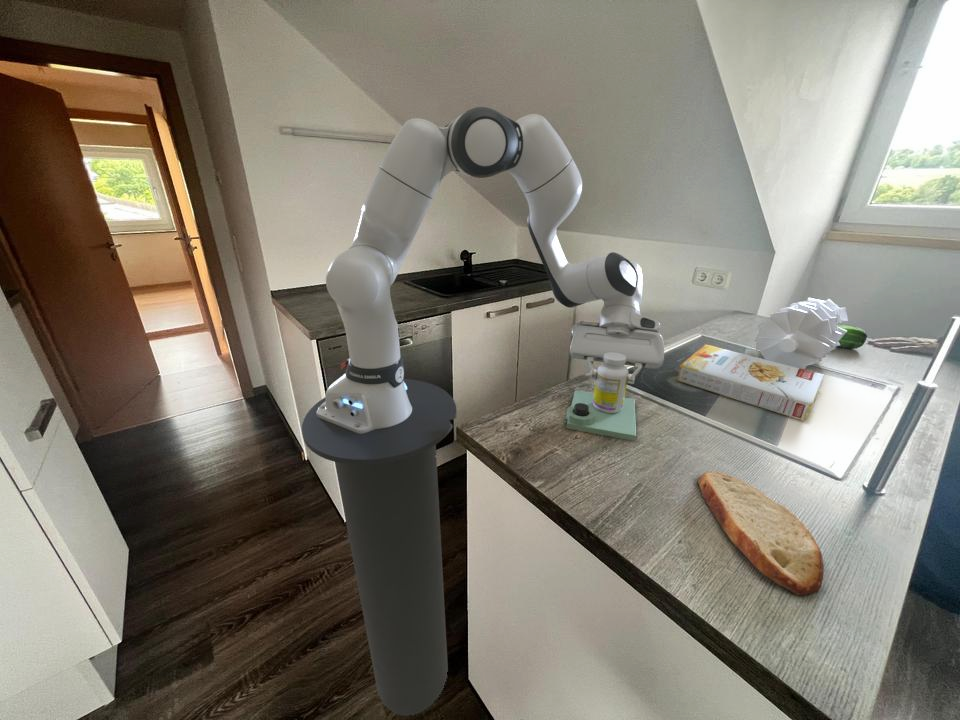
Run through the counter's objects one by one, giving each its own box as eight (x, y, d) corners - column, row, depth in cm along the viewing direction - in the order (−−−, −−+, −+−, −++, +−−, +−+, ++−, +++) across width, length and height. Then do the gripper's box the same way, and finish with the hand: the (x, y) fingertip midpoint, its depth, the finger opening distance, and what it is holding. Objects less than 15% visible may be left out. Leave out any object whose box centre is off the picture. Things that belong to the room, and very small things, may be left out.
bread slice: (703, 472, 71) (708, 455, 69) (829, 526, 60) (839, 508, 58) (666, 528, 59) (671, 510, 58) (815, 610, 48) (826, 590, 46)
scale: (564, 428, 84) (565, 416, 83) (572, 394, 98) (574, 383, 97) (634, 441, 80) (637, 429, 78) (633, 404, 94) (635, 393, 92)
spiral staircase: (757, 377, 116) (785, 353, 130) (834, 373, 101) (856, 346, 115) (742, 319, 114) (772, 300, 128) (818, 306, 99) (843, 287, 113)
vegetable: (871, 327, 120) (792, 314, 133) (862, 349, 120) (784, 333, 134) (869, 332, 125) (793, 319, 139) (860, 353, 126) (785, 338, 139)
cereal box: (704, 342, 115) (826, 371, 97) (700, 359, 117) (818, 391, 99) (679, 364, 102) (815, 402, 84) (675, 382, 104) (806, 423, 86)
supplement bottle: (609, 397, 94) (617, 348, 88) (628, 410, 88) (638, 359, 83) (586, 402, 91) (593, 352, 86) (604, 416, 86) (613, 364, 80)
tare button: (573, 415, 84) (573, 408, 83) (574, 408, 86) (575, 402, 86) (587, 418, 83) (588, 411, 82) (588, 411, 85) (589, 404, 85)
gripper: (573, 314, 91) (564, 368, 86) (668, 323, 85) (663, 382, 80) (573, 326, 97) (564, 378, 92) (662, 336, 90) (657, 391, 86)
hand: (611, 380), depth 86 cm, fingers closed on supplement bottle, 7 cm apart
